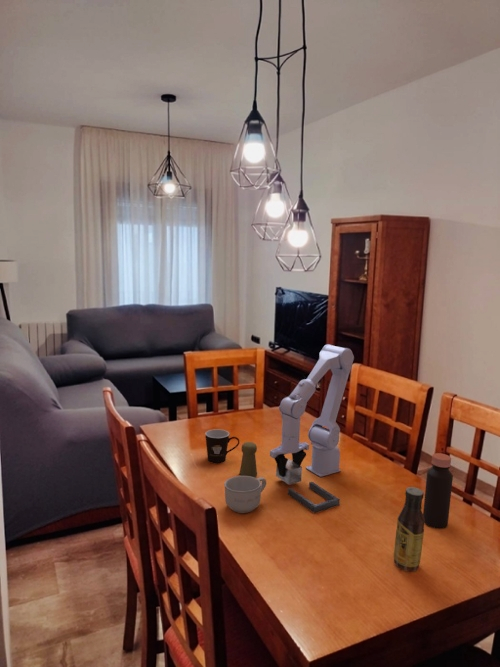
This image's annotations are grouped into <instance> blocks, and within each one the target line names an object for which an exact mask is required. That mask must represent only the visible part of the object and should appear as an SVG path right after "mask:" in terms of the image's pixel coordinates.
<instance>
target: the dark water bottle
mask: <svg viewBox="0 0 500 667" xmlns="http://www.w3.org/2000/svg"><path fill="white" fill-rule="evenodd" d="M451 463H452V457H451V456H450V455H448V454H445V453H440V452H439V453H438V452H437V453H433V454H432V456H431V465H432V467H430V468H429V469H427V472H426V481H425V492H424V498H423V499H424V500H423V510H422V513H423V515H424V519H425V523H424V525H426V526H428V527H430V528H431V529H437V530H442V529H443V530H444V529H446V528H447V527H448V525H449V516H450V510H451V509H450V508H451V507H450V506H451V498H452V488H453V479H454V475H453V474H452V472H451V471H450V468H451Z"/></svg>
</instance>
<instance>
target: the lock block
mask: <svg viewBox="0 0 500 667" xmlns="http://www.w3.org/2000/svg"><path fill="white" fill-rule="evenodd" d="M287 459H288V461H287V464H286V469H285V476H284V477H282V476H280V475H279V471H278V467H277V466H276V471H275V472H276V473H275V476H276V477H277V478H278V479H279V480H281V481H283V482H284V483H285V484H287V485H295V484H297V483H301V482H302V474H303V473H302V472H303V467H302V466H301V465H298V464H296V463H295V462H293V460H291V459H290V458H287Z"/></svg>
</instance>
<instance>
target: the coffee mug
mask: <svg viewBox="0 0 500 667" xmlns="http://www.w3.org/2000/svg"><path fill="white" fill-rule="evenodd" d="M204 435H205V436H204V437H205V445H206V456H207V461H208V462H209V463H210V464H217V465H218V464H223V463H225V462H226V460H227V459H226V458H227V454H228V453H230V452H231V451H233V450H235V449H236V448H237V447H238V446H239V444H240V439H239V438H238V437H236V436H231V437H230V432H229V431H227V430H225V429H219V428H218V429H210V430H207V431H205V434H204ZM233 439H234V440H235V439H236V440H237V443H236V445H235V446H234V447H232V448H230V449H229V450H228V445H229V443H230V441H231V440H233Z"/></svg>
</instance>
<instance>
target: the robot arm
mask: <svg viewBox="0 0 500 667" xmlns="http://www.w3.org/2000/svg"><path fill="white" fill-rule="evenodd" d="M318 356H319V357H318V360H317V362H316V363H315V365H314V367H313V368H312V370H311V372H310V373H309V375H308V376H307V378H306V379H305V378H304V379H301V380H300V381H299V382H298V384H297V385H296V386H295V388H294V389H293V390H292V391H291V393H290V394H289V395H288V396H286V397H284V398H283V399H282V400H280V405H279V406H278V411H279V412H280V415H281V419H282V421H281V424H282V425H281V440H280V441H281V443H280V446H277V447H275V448H273V449H271V450H270V451H269V457H271V458H272V459H273V460H275V463H276V468H277V467H278V471H279V475H280V476H282V477H284V476H285V469H286V464H287V461H288V459H289V458H287V457H286V455H287V454H288V455H289V454H291V459H292V461H293V462H295V463H296V464H298V465H300V466H301V465H302V463H303V461H304V459H305V458H306V457H307V452H305V450H306V451H309V450H310V445H312V449H311V463H310V464H311V465H307V466H306V467H305V468H306V470H308V471H310V472H311V473H313V474H315V475H316V476H318V477H320V478H322V477H325V476H328V475H332V474H335V473H339V472H341V469H340V460H341V459H340V457H341V452H340V448H339V447H338V445H339V442H340V432H341V428H340V426H339V425H338V423H337V422H336V420H337V417H338V413H339V410H340V408H341V407H340V406H341V403H342V400H343V396H344V392H345V389H346V386H347V383H348V379H349V375H350V373H351V370H352V366H353V362H354V360H355V356H354V354H353V351H352V350H351V348H349V347H341V346H335V345H332V344H329V343H328V344H325V345H324V346H323V347H322V349H321V350H320V352H319V355H318ZM329 370H330V371H331V373H332V376H331V379H330V381H329V385H328V389H327V393H326V396H325V399H324V403H323V406H322V410H321V413H320V416H319V417H317V418H316V419H314V420H313V421H312V424H311V426H310V428H309V430H308V432H307V438H308V440H309V441H310V443H308V442H305V441H304V442H300V435H301V434H300V433H301V432H300V430H301V417H302V416H303V415H304V414H305V411H306V407H307V404H308V403H307V402H309V400H310V399H311V397H312V396H313V394H315V392H316V385H317V384H318V382H320V380H321V379H322V378H323V377H324V376H325V375H326V373H327V372H329Z"/></svg>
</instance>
